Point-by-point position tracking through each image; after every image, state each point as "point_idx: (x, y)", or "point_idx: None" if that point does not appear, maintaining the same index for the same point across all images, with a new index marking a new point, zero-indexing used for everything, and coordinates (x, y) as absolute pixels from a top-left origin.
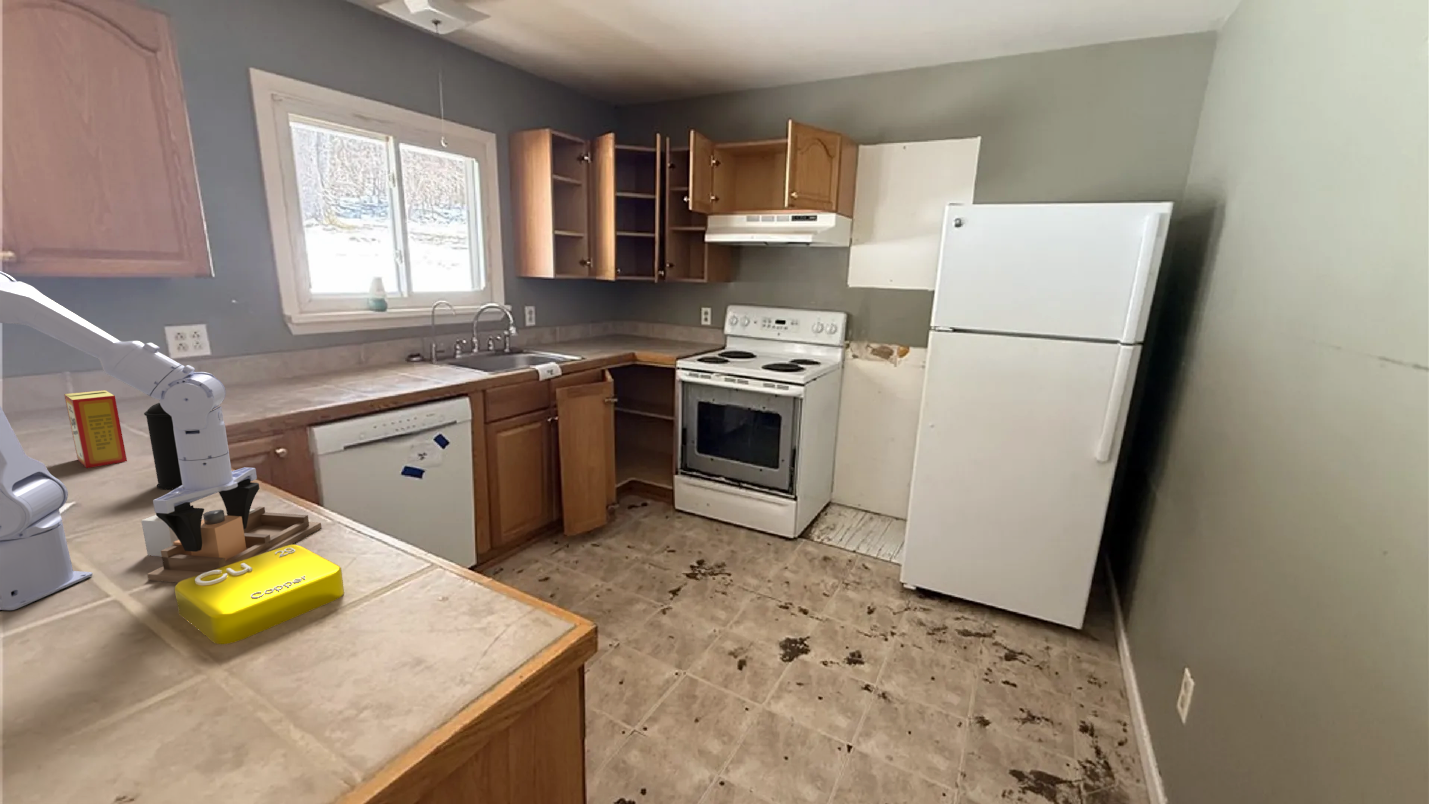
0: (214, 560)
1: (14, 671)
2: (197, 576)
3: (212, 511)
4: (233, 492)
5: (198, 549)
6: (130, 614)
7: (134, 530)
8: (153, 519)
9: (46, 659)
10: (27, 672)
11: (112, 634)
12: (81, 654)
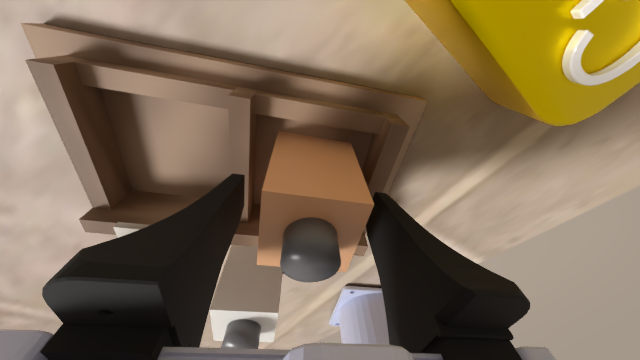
0: (403, 139)
1: (602, 202)
2: (595, 83)
3: (298, 272)
4: (190, 308)
5: (385, 194)
6: (491, 176)
7: (209, 324)
8: (266, 333)
9: (591, 190)
10: (618, 187)
11: (558, 157)
12: (608, 157)
